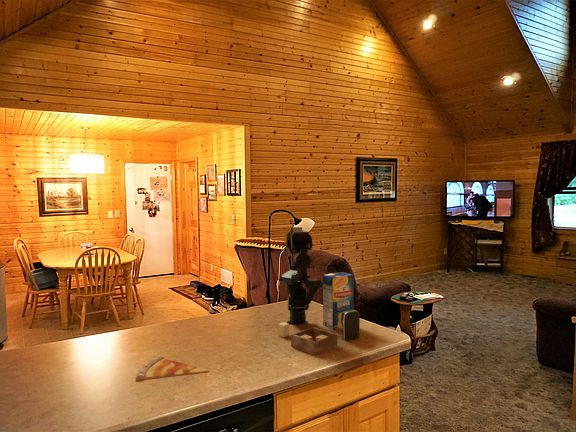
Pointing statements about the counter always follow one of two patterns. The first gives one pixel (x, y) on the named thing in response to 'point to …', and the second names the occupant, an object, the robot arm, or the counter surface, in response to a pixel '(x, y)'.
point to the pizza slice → (165, 369)
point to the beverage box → (337, 298)
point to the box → (314, 341)
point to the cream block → (320, 337)
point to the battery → (350, 324)
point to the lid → (283, 329)
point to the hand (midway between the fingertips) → (300, 301)
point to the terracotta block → (307, 337)
